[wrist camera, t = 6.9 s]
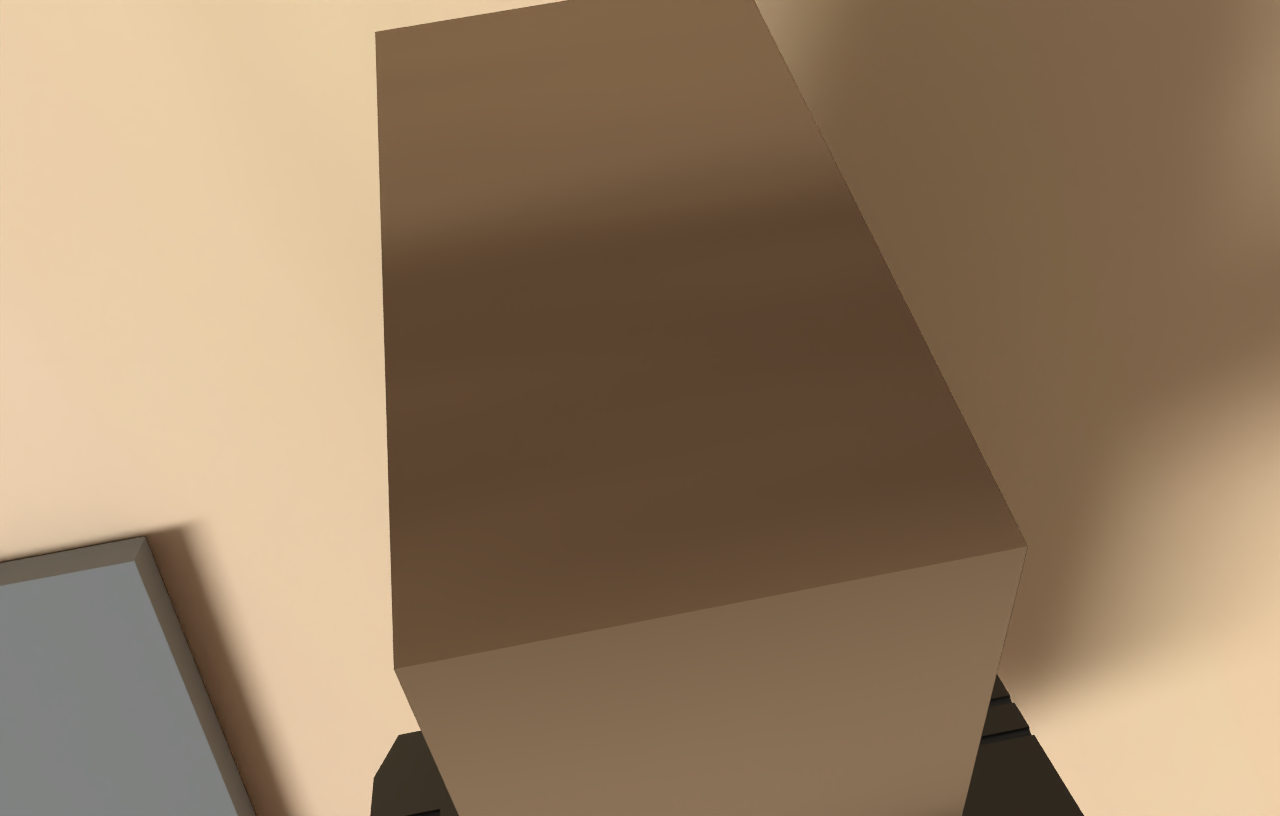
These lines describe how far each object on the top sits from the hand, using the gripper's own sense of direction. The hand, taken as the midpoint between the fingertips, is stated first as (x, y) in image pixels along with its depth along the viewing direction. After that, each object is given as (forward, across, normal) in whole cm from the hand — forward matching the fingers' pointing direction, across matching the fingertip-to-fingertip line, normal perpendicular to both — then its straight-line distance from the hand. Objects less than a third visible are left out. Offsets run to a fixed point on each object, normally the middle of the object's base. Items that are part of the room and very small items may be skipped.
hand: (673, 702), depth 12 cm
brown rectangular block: (+3, 0, -1) cm, 3 cm away
